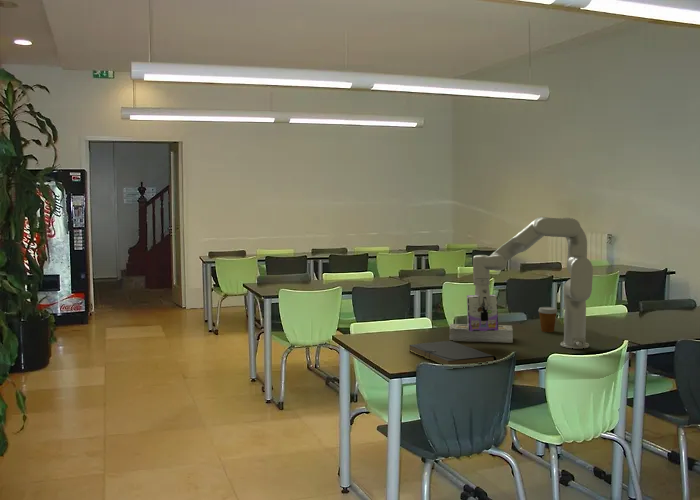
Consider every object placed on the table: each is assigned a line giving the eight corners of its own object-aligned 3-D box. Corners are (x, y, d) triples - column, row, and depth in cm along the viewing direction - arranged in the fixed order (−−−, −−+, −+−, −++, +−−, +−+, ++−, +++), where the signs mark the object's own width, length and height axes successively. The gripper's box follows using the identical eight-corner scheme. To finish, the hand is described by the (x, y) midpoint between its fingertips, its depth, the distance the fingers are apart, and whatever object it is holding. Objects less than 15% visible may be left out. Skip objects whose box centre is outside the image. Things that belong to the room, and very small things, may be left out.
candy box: (496, 328, 317) (496, 294, 316) (498, 330, 312) (497, 295, 310) (467, 329, 319) (466, 294, 317) (468, 331, 313) (467, 296, 312)
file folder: (408, 344, 304) (453, 339, 314) (408, 353, 304) (453, 348, 314) (447, 360, 274) (496, 354, 284) (447, 369, 274) (496, 364, 284)
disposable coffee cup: (554, 333, 340) (554, 310, 339) (535, 331, 345) (536, 308, 344) (559, 330, 348) (559, 307, 347) (540, 328, 353) (541, 306, 352)
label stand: (511, 337, 332) (511, 324, 332) (512, 342, 321) (512, 329, 320) (450, 335, 338) (450, 323, 338) (449, 340, 326) (449, 327, 326)
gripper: (494, 283, 305) (495, 322, 306) (484, 278, 322) (485, 315, 323) (478, 284, 304) (479, 323, 306) (469, 279, 322) (470, 316, 323)
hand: (482, 319), depth 315 cm, fingers closed on candy box, 6 cm apart
